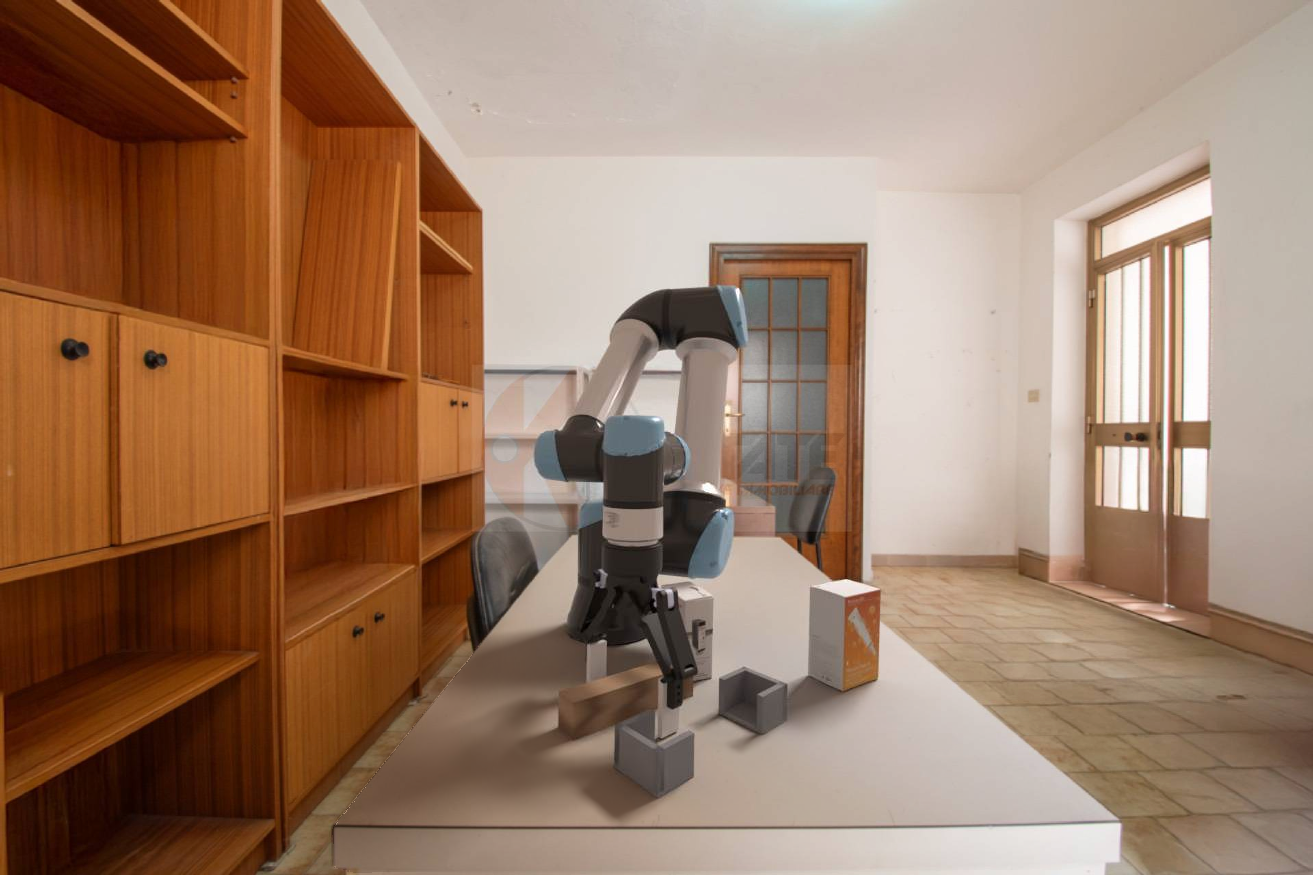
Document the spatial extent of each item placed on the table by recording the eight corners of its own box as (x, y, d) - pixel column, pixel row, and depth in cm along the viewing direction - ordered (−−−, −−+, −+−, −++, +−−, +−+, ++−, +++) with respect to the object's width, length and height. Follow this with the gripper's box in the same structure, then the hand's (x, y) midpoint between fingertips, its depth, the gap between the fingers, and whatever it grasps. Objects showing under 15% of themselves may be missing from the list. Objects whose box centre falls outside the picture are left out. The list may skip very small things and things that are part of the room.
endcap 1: (614, 766, 58) (614, 724, 58) (649, 748, 61) (650, 708, 61) (657, 797, 53) (658, 752, 53) (693, 776, 56) (694, 733, 56)
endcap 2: (718, 712, 69) (719, 677, 69) (743, 700, 73) (744, 666, 73) (762, 734, 64) (762, 696, 64) (786, 719, 68) (787, 683, 68)
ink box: (657, 660, 85) (659, 583, 85) (686, 655, 87) (687, 580, 87) (682, 684, 77) (684, 599, 77) (713, 678, 79) (715, 595, 79)
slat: (572, 742, 63) (573, 703, 63) (558, 729, 65) (558, 691, 65) (693, 697, 74) (693, 663, 74) (676, 688, 76) (676, 655, 76)
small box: (843, 693, 75) (845, 596, 75) (806, 675, 80) (808, 585, 80) (880, 679, 80) (882, 588, 79) (843, 663, 85) (844, 577, 85)
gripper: (551, 529, 76) (548, 685, 76) (684, 562, 57) (680, 767, 58) (595, 523, 81) (593, 670, 81) (730, 552, 63) (727, 741, 63)
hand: (629, 711), depth 69 cm, fingers open, 13 cm apart
